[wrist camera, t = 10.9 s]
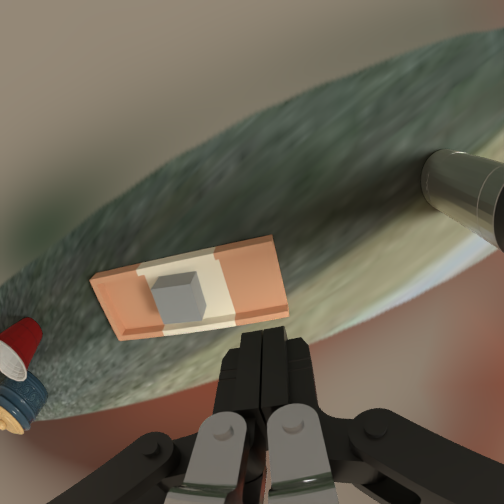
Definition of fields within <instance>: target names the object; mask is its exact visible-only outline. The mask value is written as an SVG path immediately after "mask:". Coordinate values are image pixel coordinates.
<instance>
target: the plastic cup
mask: <svg viewBox="0 0 504 504" xmlns="http://www.w3.org/2000/svg"><path fill="white" fill-rule="evenodd" d="M42 334H43V333H42V330H41V328H40V326H39V325H38V324H37V323H36V321H34V320H33V319H31V318H29V317H27V318H24V319H22V320H20V321H19V322H17V323H15V324H14V325H12V326H11V327H9V328H8V329H6V330H5V331H3V332H2V333H0V371H1V372H2V373H3V374H5V375H6V376H8V377H9V378H11V379H13V380H16V381H24V380H25V379H26V378H27V369H28V366H29V363H30V361H31V359H32V357H33V355H34V353H35V351H36V349H37V346H38V344H39V343H40V341H41V338H42Z"/></svg>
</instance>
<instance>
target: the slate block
mask: <svg viewBox="0 0 504 504" xmlns="http://www.w3.org/2000/svg"><path fill="white" fill-rule="evenodd" d="M151 292H152V295H153V298H154V300H155V303H156V306H157V308H158V311H159V313H160V316H161V319H162V321H163V324H175V323H185V322H195V321H202V319H203V316H204V313H205V309H206V306H207V305H206V302H205V299H204V295H203V292H202V289H201V285H200V282H199V278H198V275H197V272H196V271H192V272H186V273H179V274H172V275H166V276H159V277H158V279H157V280H156V282H155V283H154V285H153V286H152V288H151Z"/></svg>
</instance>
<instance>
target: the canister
mask: <svg viewBox="0 0 504 504" xmlns="http://www.w3.org/2000/svg"><path fill="white" fill-rule="evenodd" d="M47 398H48V394H47V391H46V389H45V388H44V386H43V385H42V383H41V382H40V381H39V380H38V379H37V378H36V377H35V376H34V375H33V374H31V373H30V372H29V371H27V378H26V379H25V380H24V381H16V380H13V379H11V378H9V377H8V376H6V377H5V379H4V380H3V381H2V383H1V384H0V429H1V430H5V429H7V430H8V431H10V432H12V433H15V434H23V433H24V430H30V424H31V423H32V422H34V421H35V420H36V417H37V415H38V414H39V412H40V410H41V409H42V407H43V406H44V405H45V403H46V402H47Z"/></svg>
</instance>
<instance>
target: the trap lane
mask: <svg viewBox="0 0 504 504" xmlns="http://www.w3.org/2000/svg"><path fill="white" fill-rule="evenodd" d="M192 271H196V272H197V275H198V278H199V282H200V285H201V289H202V292H203V295H204V299H205V302H206V305H207V306H206V309H205V313H204V316H203V319H202V321H195V322H185V323H175V324H163V321H162V319H161V316H160V313H159V311H158V308H157V306H156V303H155V300H154V298H153V295H152V292H151V288H152V286H153V285H154V283H155V282H156V280H157V279H158V277H159V276H166V275H172V274H179V273H186V272H192ZM90 283H91V285H92V287H93V289H94V291H95V294H96V296H97V298H98V300H99V302H100V304H101V306H102V308H103V310H104V312H105V314H106V316H107V318H108V320H109V322H110V324H111V326H112V328H113V330H114V332H115V334H116V336H117V338H118V339H119V341H124V340H133V339H143V338H152V337H160V336H169V335H177V334H184V333H192V332H199V331H206V330H213V329H219V328H226V327H232V326H239V325H245V324H251V323H257V322H262V321H268V320H274V319H279V318H284V317H289V308H288V303H287V298H286V294H285V289H284V285H283V280H282V276H281V272H280V267H279V263H278V258H277V254H276V250H275V245H274V241H273V237H272V235H267V236H263V237H258V238H253V239H248V240H244V241H239V242H234V243H230V244H225V245H220V246H216V247H211V248H207V249H202V250H197V251H193V252H188V253H184V254H179V255H175V256H170V257H166V258H161V259H157V260H152V261H148V262H143V263H139V264H134V265H130V266H125V267H121V268H116V269H112V270H108V271H103V272H99V273H96V274H95V275H94V276H93V277H92V278H91V279H90Z"/></svg>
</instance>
